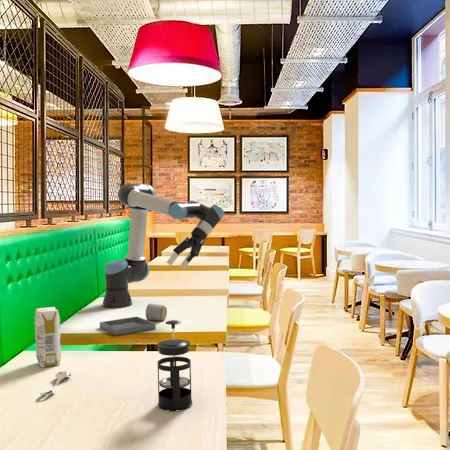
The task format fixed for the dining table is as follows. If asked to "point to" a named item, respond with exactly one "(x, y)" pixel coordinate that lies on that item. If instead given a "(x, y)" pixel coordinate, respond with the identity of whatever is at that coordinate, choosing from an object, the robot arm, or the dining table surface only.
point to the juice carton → (47, 336)
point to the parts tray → (127, 326)
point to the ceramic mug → (156, 312)
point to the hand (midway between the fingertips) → (175, 265)
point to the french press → (174, 374)
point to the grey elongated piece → (58, 380)
